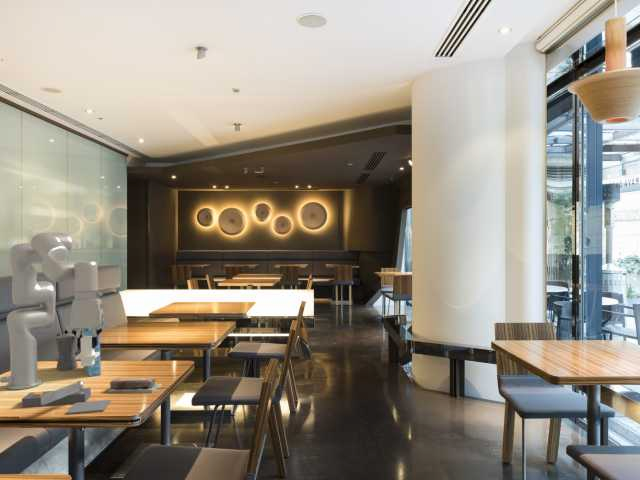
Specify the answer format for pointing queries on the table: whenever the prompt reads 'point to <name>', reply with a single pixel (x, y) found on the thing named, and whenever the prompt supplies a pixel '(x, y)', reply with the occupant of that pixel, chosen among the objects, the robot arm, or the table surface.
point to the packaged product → (133, 385)
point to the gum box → (96, 367)
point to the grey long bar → (61, 392)
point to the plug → (87, 352)
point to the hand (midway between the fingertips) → (87, 347)
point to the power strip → (76, 397)
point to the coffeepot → (66, 351)
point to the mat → (88, 407)
